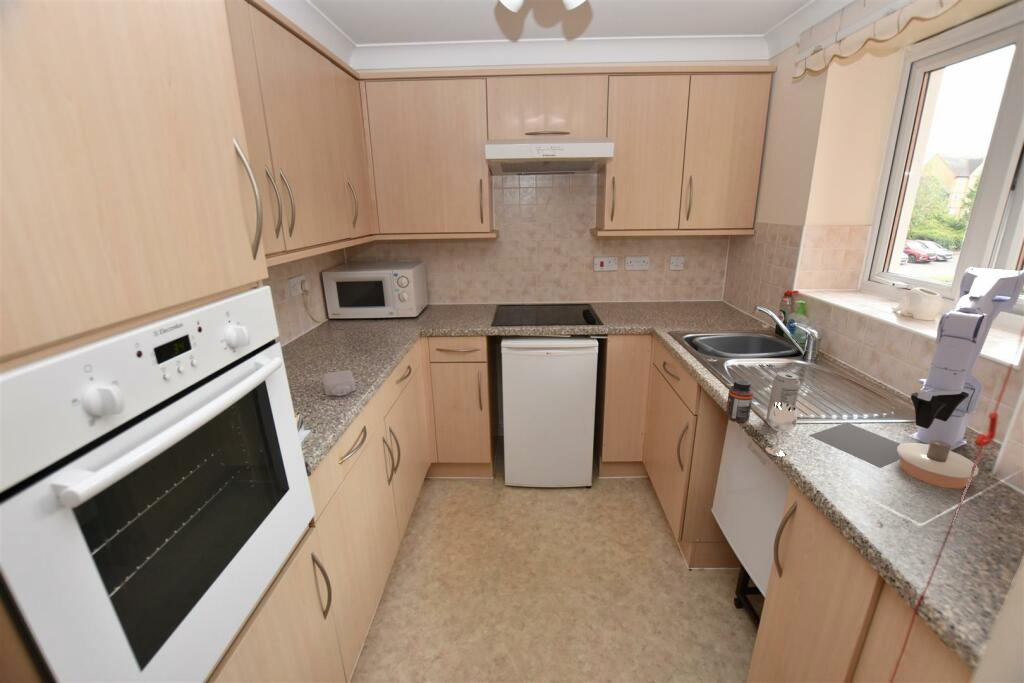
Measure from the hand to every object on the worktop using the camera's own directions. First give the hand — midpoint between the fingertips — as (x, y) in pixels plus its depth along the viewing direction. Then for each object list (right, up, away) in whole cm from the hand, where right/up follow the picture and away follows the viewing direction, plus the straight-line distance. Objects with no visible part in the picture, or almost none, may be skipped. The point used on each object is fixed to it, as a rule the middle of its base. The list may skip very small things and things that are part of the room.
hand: (931, 422), depth 99 cm
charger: (-151, +1, +45) cm, 158 cm away
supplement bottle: (-32, -3, +24) cm, 40 cm away
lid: (-2, -8, -3) cm, 8 cm away
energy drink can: (-23, -5, +19) cm, 30 cm away
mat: (-8, -7, +10) cm, 15 cm away
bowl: (-2, -11, -2) cm, 11 cm away
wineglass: (-31, -9, +8) cm, 33 cm away
